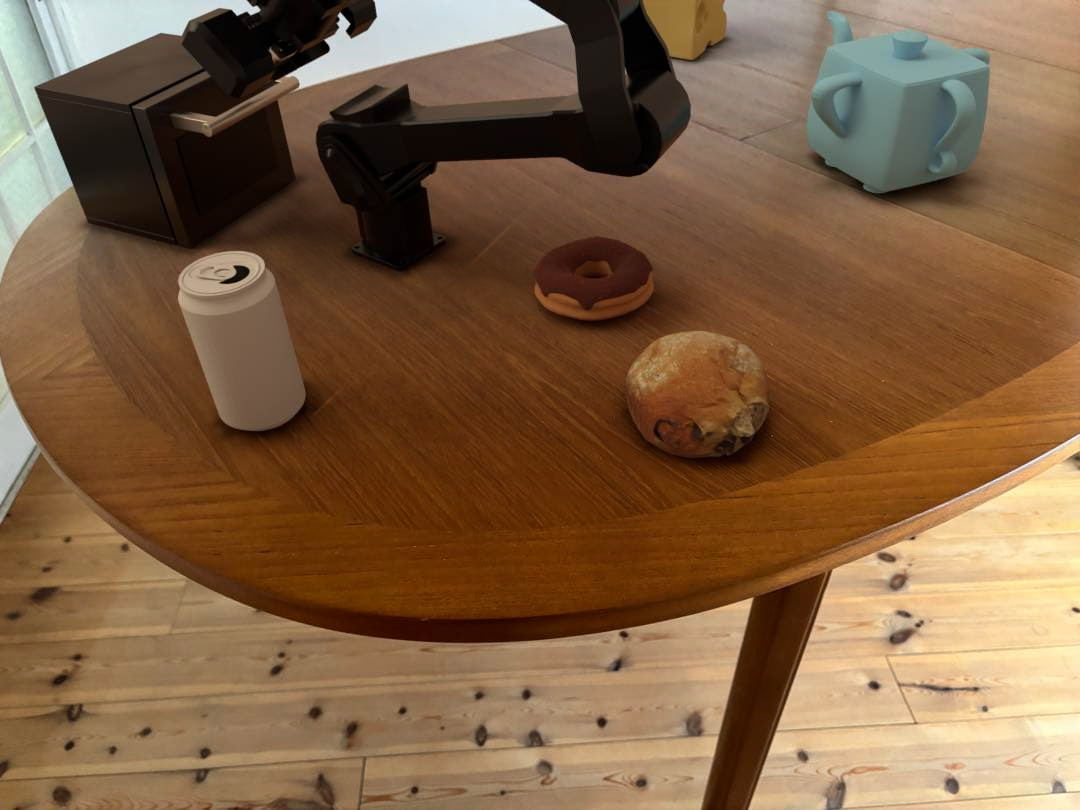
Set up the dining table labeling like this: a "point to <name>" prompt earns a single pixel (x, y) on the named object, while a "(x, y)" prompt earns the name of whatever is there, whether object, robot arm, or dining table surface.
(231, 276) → the beverage can
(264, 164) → the oven door
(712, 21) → the cheese
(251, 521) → the dining table surface
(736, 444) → the bread roll
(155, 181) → the oven
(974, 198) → the dining table surface
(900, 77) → the teapot
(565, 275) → the donut
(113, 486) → the dining table surface
